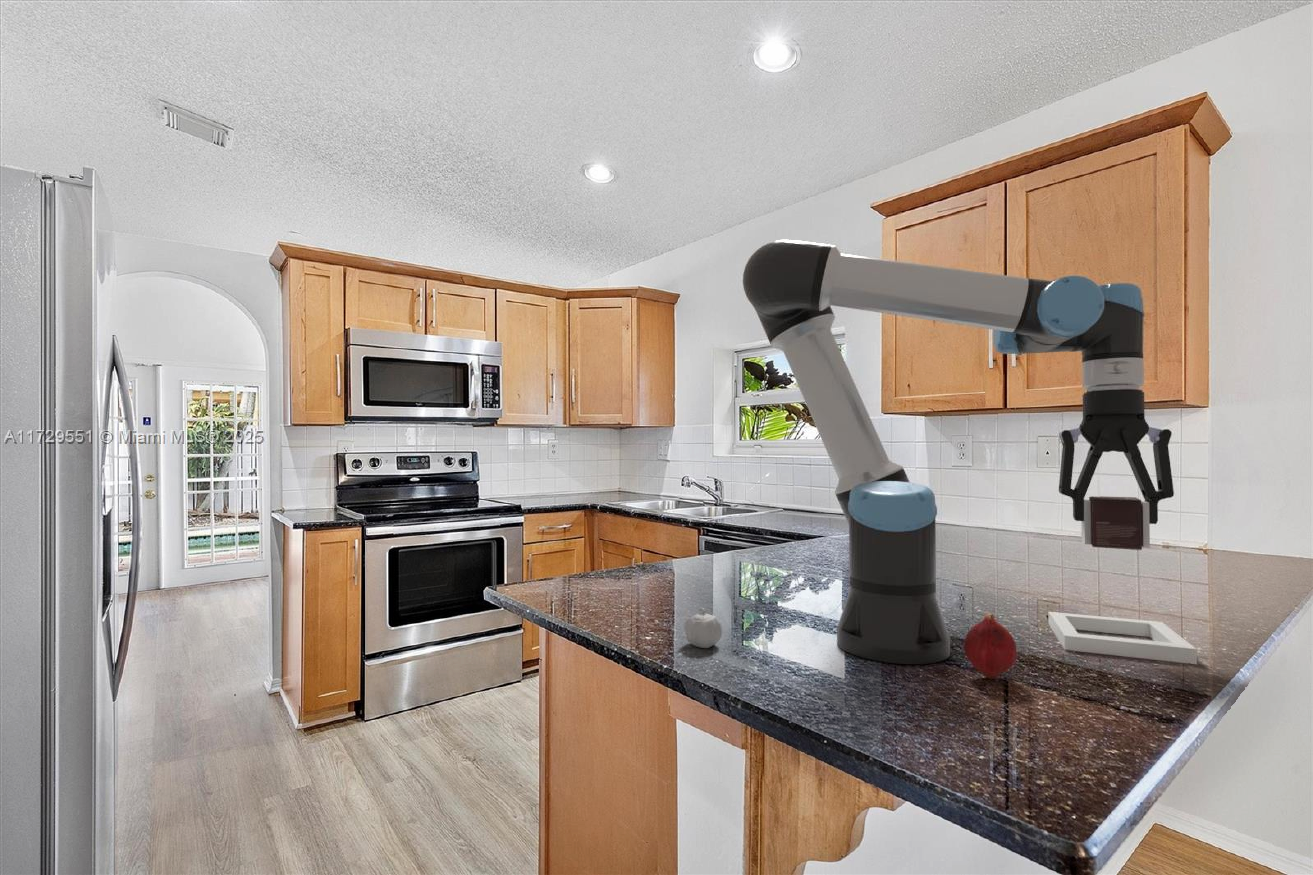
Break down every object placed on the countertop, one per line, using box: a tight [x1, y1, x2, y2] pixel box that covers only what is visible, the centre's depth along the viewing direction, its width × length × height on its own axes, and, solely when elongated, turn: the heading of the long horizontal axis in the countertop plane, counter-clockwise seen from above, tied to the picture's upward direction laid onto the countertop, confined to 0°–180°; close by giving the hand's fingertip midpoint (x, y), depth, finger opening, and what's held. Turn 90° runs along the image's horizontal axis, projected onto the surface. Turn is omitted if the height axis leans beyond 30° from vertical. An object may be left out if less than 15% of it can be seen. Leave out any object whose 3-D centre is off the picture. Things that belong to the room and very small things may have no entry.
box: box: [1088, 495, 1143, 551], centre depth 95 cm, size 6×6×7 cm
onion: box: [963, 612, 1018, 680], centre depth 80 cm, size 6×6×8 cm
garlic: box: [683, 607, 723, 649], centre depth 93 cm, size 6×5×5 cm
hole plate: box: [1048, 611, 1198, 665], centre depth 95 cm, size 15×15×2 cm
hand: (1114, 544), depth 95 cm, fingers closed on box, 6 cm apart
